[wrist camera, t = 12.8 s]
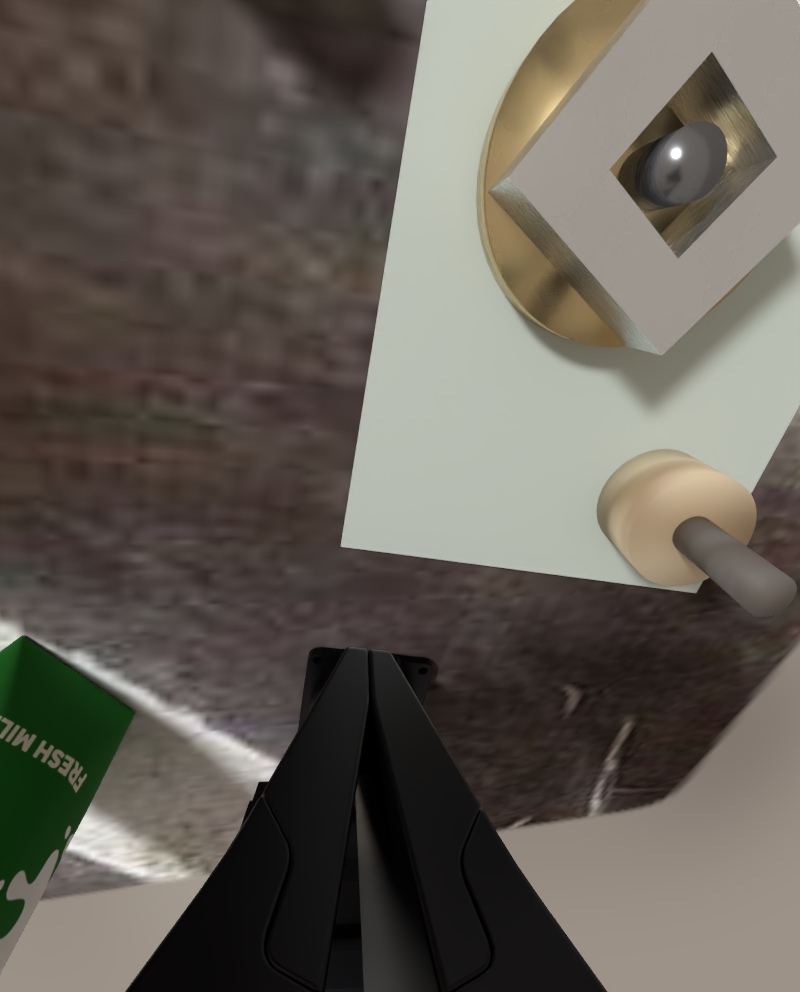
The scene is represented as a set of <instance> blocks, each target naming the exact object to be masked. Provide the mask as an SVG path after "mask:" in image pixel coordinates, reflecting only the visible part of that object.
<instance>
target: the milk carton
mask: <svg viewBox="0 0 800 992" xmlns="http://www.w3.org/2000/svg"><path fill="white" fill-rule="evenodd" d="M134 715H135V712H134V711H132V710H131V709H130V708H128V707H127V706H125V705H124V704H122V703H121V702H119V701H118V700H116V699H115V698H114V697H112V696H111V695H109V694H108V693H106V692H105V691H103V690H102V689H100V688H99V687H97V686H96V685H95V684H93V683H92V682H90V681H89V680H87V679H86V678H84V677H83V676H81V675H80V674H78V673H77V672H76V671H74V670H73V669H71V668H70V667H68V666H67V665H65V664H64V663H62V662H61V661H59V660H58V659H56V658H55V657H54V656H52V655H51V654H49V653H48V652H46V651H45V650H43V649H42V648H40V647H39V646H37V645H36V644H35V643H33V642H32V641H30V640H29V639H27V638H26V637H25V636H21V637H20V638H18V639H17V640H16V641H14V642H13V643H12V644H10V645H9V646H8V647H6V648H5V649H3V650H2V651H1V652H0V974H1V972H2V970H3V968H4V966H5V964H6V962H7V960H8V959H9V956H10V955H11V953H12V951H13V949H14V947H15V945H16V943H17V942H18V940H19V938H20V936H21V934H22V932H23V930H24V928H25V926H26V925H27V923H28V921H29V919H30V917H31V915H32V913H33V911H34V909H35V908H36V906H37V904H38V902H39V900H40V898H41V896H42V894H43V892H44V891H45V889H46V887H47V885H48V883H49V881H50V879H51V877H52V875H53V874H54V872H55V870H56V868H57V866H58V864H59V862H60V860H61V858H62V857H63V855H64V853H65V851H66V849H67V847H68V845H69V843H70V841H71V839H72V838H73V836H74V834H75V832H76V830H77V828H78V826H79V824H80V822H81V821H82V819H83V817H84V815H85V813H86V811H87V809H88V807H89V805H90V803H91V801H92V799H93V797H94V795H95V793H96V791H97V789H98V787H99V785H100V783H101V781H102V779H103V777H104V775H105V773H106V771H107V769H108V767H109V765H110V763H111V761H112V759H113V757H114V755H115V753H116V751H117V749H118V747H119V745H120V743H121V741H122V739H123V737H124V735H125V733H126V731H127V729H128V727H129V725H130V723H131V721H132V719H133V717H134Z"/></svg>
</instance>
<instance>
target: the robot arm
mask: <svg viewBox="0 0 800 992" xmlns="http://www.w3.org/2000/svg"><path fill="white" fill-rule="evenodd" d="M315 657H320V658H321V659H317V658H315ZM423 667H424V669H420V668H423ZM431 675H432V664H431V662H430V661H429V660H428V659H425V658H416V657H407V656H397V655H392V654H391V653H390V652H389V651H385V650H376V649H371V650H369V651H367V649H365V648H356V647H347V648H346V649H345V650H338V649H328V648H314V649H312V650H311V651H310V652H309V656H308V663H307V670H306V677H305V684H304V691H303V698H302V705H301V712H300V720H299V727H298V732H297V734H296V735H295V737H294V739H293V740H292V742H291V744H290V746H289V747H288V749H287V751H286V753H285V754H284V756H283V758H282V760H281V761H280V763H279V765H278V766H277V768H276V770H275V772H274V773H273V775H272V777H271V779H270V780H269V782H259V783H258V786H257V789H256V792H255V795H254V798H253V801H250V802H249V804H248V807H247V810H246V813H245V816H244V819H243V822H242V825H241V828H240V831H239V832H238V834H237V836H236V837H235V839H234V840H233V842H232V844H231V845H230V847H229V849H228V850H227V852H226V853H225V855H224V856H223V858H222V859H221V861H220V862H219V863H218V865H217V866H216V868H215V869H214V871H213V872H212V874H211V875H210V876H209V878H208V879H207V881H206V882H205V884H204V885H203V887H202V888H201V889H200V891H199V893H198V894H197V895H196V896H195V898H194V899H193V900H192V902H191V903H190V904H189V906H188V907H187V909H186V910H185V911H184V913H183V914H182V915H181V917H180V918H179V919H178V921H177V922H176V924H175V925H174V926H173V928H172V929H171V930H170V932H169V933H168V934H167V936H166V937H165V938H164V940H163V941H162V942H161V944H160V945H159V947H158V948H157V949H156V951H155V952H154V953H153V955H152V956H151V958H150V959H149V960H148V961H147V963H146V965H145V966H144V967H143V968H142V970H141V971H140V972H139V974H138V975H137V976H136V978H135V979H134V980H133V982H132V983H131V985H130V986H129V987H128V989H127V990H126V992H607V991H606V989H605V988H604V986H603V985H602V984H601V982H600V981H599V980H598V978H597V977H596V975H595V974H594V973H593V971H592V970H591V969H590V967H589V966H588V964H587V963H586V962H585V960H584V959H583V957H582V956H581V955H580V954H579V952H578V951H577V949H576V948H575V946H574V945H573V943H572V942H571V941H570V939H569V938H568V937H567V935H566V934H565V932H564V931H563V930H562V929H561V927H560V925H559V924H558V923H557V921H556V920H555V918H554V917H553V916H552V914H551V913H550V912H549V910H548V909H547V907H546V906H545V905H544V903H543V902H542V900H541V899H540V898H539V896H538V895H537V893H536V892H535V890H534V889H533V887H532V886H531V885H530V883H529V882H528V880H527V879H526V877H525V876H524V874H523V873H522V871H521V870H520V869H519V867H518V866H517V864H516V862H515V861H514V859H513V858H512V856H511V855H510V853H509V851H508V850H507V848H506V847H505V845H504V843H503V842H502V840H501V838H500V837H499V835H498V834H497V832H496V830H495V829H494V827H493V825H492V823H491V822H490V820H489V818H488V817H487V815H486V813H485V811H484V810H480V809H481V805H480V803H479V802H478V800H477V798H476V796H475V795H474V793H473V791H472V790H471V788H470V786H469V785H468V783H467V781H466V780H465V778H464V776H463V774H462V773H461V771H460V769H459V768H458V766H457V764H456V763H455V761H454V759H453V757H452V756H451V754H450V752H449V751H448V749H447V747H446V746H445V744H444V742H443V741H442V739H441V737H440V735H439V734H438V732H437V730H436V729H435V727H434V725H433V724H432V722H431V720H430V718H429V717H428V715H427V713H426V712H425V710H424V708H423V707H422V706H423V703H424V699H425V696H426V692H427V689H428V685H429V682H430V678H431Z"/></svg>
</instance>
